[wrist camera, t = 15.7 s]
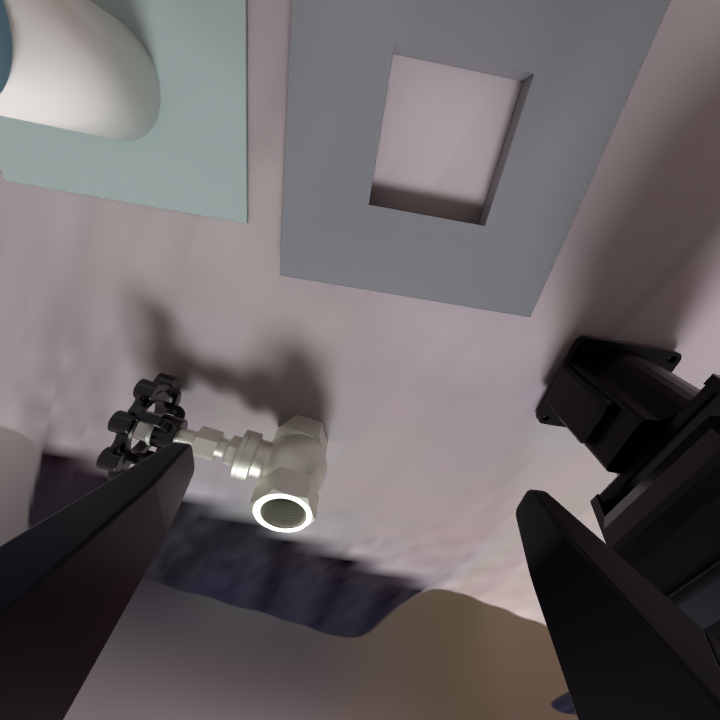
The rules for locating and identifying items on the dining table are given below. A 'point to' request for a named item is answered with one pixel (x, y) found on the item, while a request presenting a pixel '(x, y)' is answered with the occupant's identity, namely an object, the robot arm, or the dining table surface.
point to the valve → (228, 453)
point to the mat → (159, 120)
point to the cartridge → (75, 69)
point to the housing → (517, 160)
